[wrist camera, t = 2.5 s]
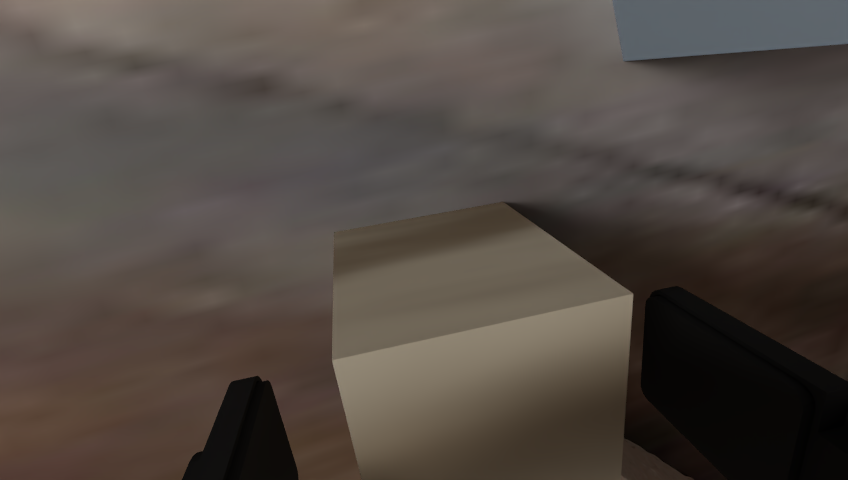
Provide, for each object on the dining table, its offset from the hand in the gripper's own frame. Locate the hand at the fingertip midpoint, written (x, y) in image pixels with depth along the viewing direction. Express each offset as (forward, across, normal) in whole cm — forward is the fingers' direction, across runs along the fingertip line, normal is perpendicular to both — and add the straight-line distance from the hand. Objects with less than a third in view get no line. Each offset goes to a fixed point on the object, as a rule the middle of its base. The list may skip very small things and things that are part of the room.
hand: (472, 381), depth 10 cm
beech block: (+4, 0, -1) cm, 4 cm away
